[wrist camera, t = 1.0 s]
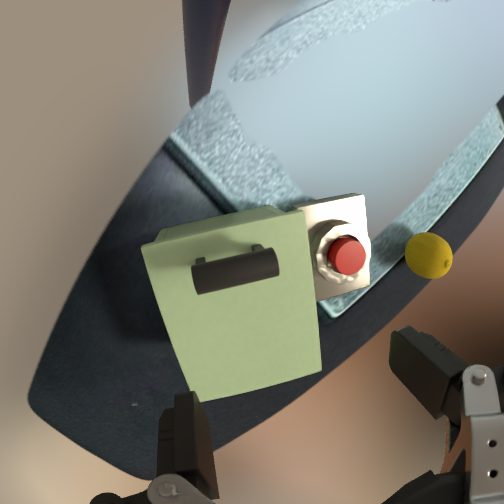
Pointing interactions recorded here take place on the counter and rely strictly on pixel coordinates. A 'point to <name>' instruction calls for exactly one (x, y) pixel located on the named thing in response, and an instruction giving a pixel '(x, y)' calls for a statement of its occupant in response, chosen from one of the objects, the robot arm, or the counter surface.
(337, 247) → the button
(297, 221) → the lid
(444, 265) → the lemon
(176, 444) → the robot arm
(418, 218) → the counter surface
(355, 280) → the switch block
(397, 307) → the counter surface
